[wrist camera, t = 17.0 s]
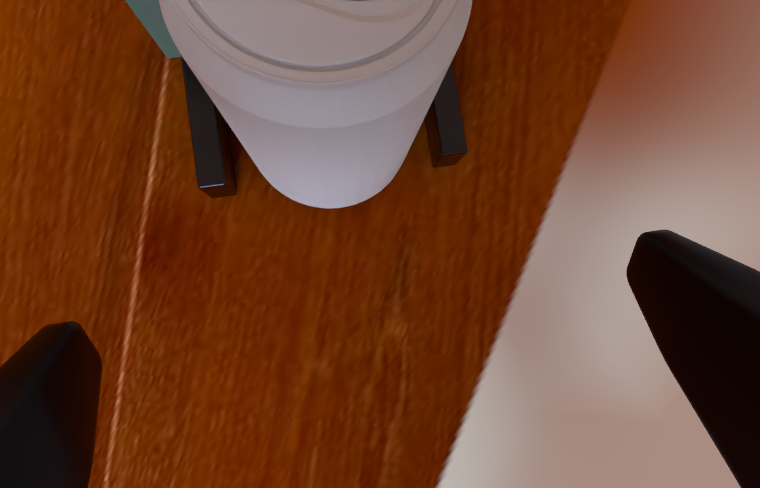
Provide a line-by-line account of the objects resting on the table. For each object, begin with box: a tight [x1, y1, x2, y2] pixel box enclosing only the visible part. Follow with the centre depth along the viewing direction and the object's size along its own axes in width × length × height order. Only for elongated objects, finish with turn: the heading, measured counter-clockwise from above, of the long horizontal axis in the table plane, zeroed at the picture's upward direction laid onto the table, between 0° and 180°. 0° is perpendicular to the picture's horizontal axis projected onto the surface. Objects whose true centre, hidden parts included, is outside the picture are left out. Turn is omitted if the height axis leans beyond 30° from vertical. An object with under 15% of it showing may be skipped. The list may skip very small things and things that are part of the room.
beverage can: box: [159, 0, 472, 208], centre depth 15 cm, size 6×6×12 cm
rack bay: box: [125, 0, 467, 198], centre depth 17 cm, size 7×12×8 cm, turn 99°
